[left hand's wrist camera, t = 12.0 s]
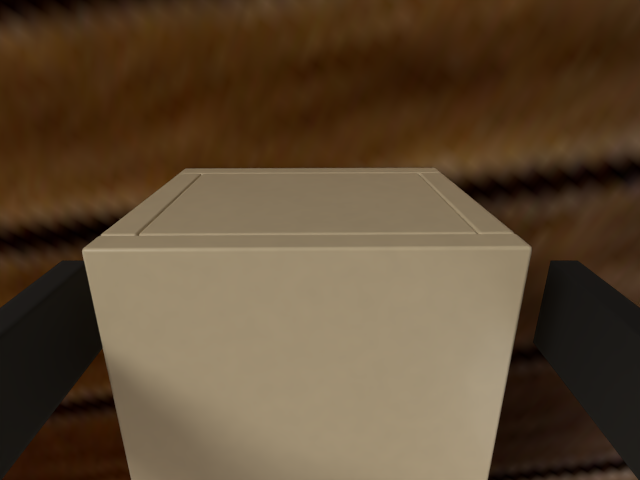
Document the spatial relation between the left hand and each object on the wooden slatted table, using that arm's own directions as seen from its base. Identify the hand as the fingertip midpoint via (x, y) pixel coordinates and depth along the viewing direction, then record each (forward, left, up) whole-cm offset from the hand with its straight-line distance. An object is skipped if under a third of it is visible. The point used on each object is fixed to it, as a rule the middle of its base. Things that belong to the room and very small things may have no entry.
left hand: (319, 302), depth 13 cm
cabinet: (+2, +7, -6) cm, 9 cm away
